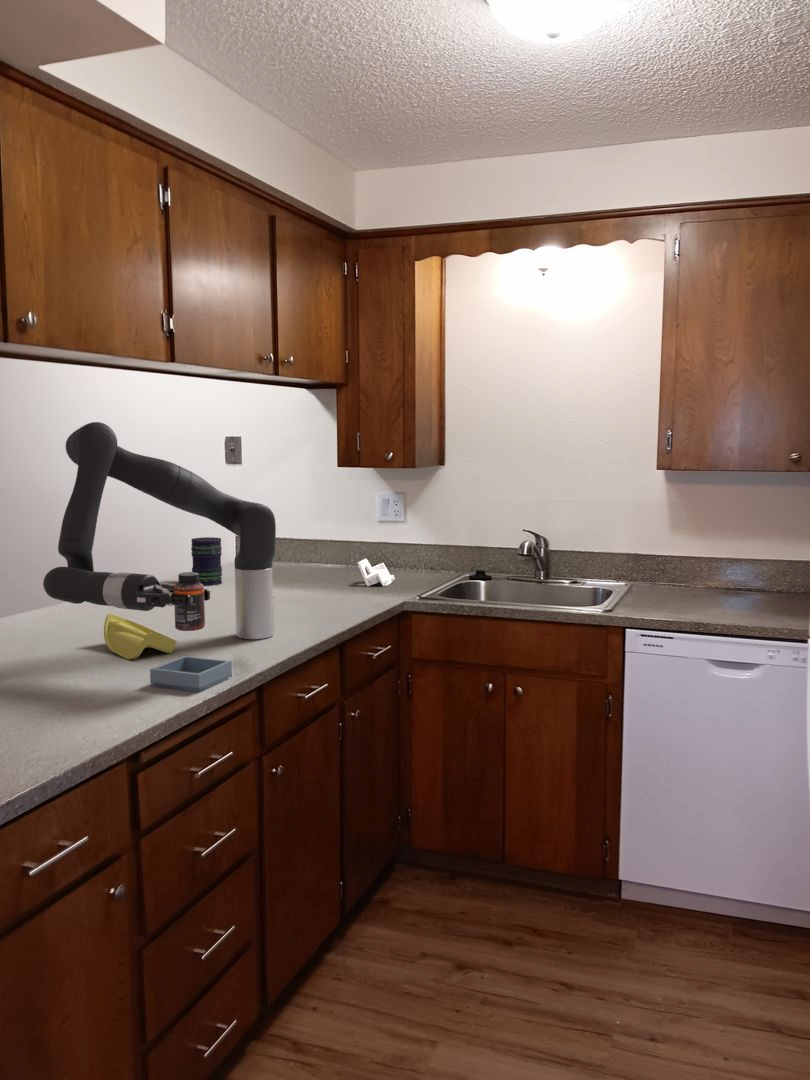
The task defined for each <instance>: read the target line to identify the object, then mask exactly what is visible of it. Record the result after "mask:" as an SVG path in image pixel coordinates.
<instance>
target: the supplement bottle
mask: <svg viewBox="0 0 810 1080" xmlns="http://www.w3.org/2000/svg"><path fill="white" fill-rule="evenodd" d="M177 583H178V584H176V585H175V587H174V594H175V593H176V594H186V595H190V596H191V605H190V606H179V605H173V606H174V627H175V629H176V630H177V631H182V632H192V631H193V632H194V631H199V630H202V629H204V628H205V627H206V625H205V623H206V615H205V614H206V613H205V612H206V611H205V600H204V589H205V586H203V585H202V584H201V583H200V582H199V574H198V573H196V572H192V571H187V572H180V573H178V582H177Z"/></svg>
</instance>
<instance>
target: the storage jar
mask: <svg viewBox="0 0 810 1080" xmlns="http://www.w3.org/2000/svg"><path fill="white" fill-rule="evenodd" d="M191 556H192V567H191V572H196V573H198V574H199V582H200V583H201V584H202V585H203V586H204V587H213V585H215V586H220V585H222V583H223V581H222V579H223V577H222V576H223V567H222V538H221V537H211V536H210V537H206V536H205V537H195V538H191ZM219 584H220V585H219Z"/></svg>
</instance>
